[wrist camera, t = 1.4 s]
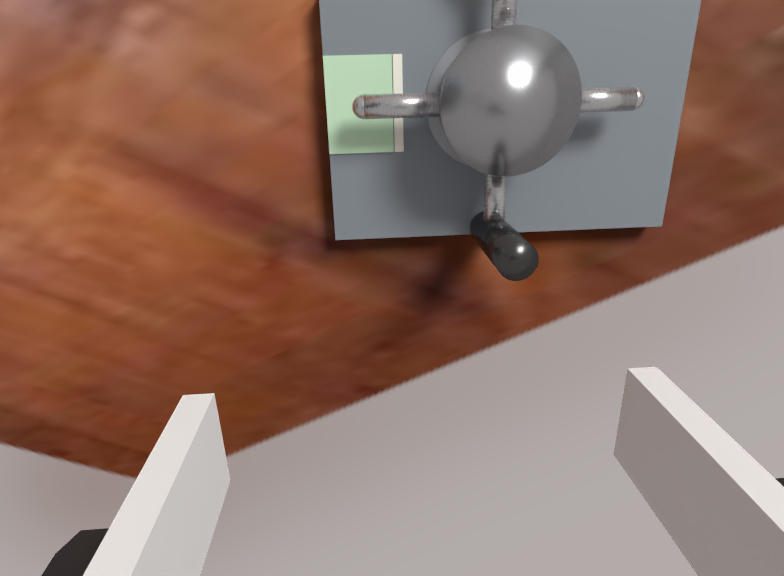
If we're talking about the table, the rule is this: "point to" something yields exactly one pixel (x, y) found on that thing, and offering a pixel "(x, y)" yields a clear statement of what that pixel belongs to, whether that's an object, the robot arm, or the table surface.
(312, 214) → the table surface
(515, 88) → the cam capstan
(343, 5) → the stand plate
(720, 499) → the robot arm
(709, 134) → the table surface
